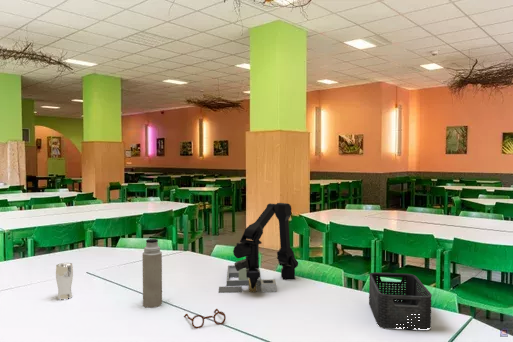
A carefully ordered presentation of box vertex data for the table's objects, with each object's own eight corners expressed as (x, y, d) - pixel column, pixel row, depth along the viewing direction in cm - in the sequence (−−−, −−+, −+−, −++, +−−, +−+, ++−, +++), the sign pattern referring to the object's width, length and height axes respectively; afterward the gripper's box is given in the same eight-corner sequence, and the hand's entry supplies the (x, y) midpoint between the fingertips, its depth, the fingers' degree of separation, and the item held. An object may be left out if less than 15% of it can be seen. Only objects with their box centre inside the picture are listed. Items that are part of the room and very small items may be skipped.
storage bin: (433, 332, 150) (434, 295, 150) (378, 329, 153) (379, 293, 152) (413, 304, 179) (414, 273, 178) (367, 302, 181) (367, 272, 181)
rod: (256, 289, 197) (256, 273, 197) (256, 292, 194) (256, 275, 194) (248, 289, 197) (248, 273, 197) (248, 292, 194) (248, 275, 193)
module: (248, 279, 214) (248, 265, 214) (248, 282, 209) (248, 267, 209) (238, 279, 214) (238, 265, 214) (238, 282, 209) (238, 267, 209)
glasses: (192, 330, 153) (192, 316, 152) (183, 317, 165) (183, 305, 164) (226, 324, 158) (225, 311, 158) (215, 312, 170) (215, 300, 170)
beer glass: (76, 296, 188) (76, 263, 187) (63, 301, 182) (63, 267, 181) (65, 294, 191) (65, 262, 190) (52, 299, 185) (52, 265, 184)
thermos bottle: (149, 300, 183) (149, 237, 182) (165, 302, 181) (165, 238, 180) (139, 306, 176) (138, 240, 175) (155, 308, 173) (154, 241, 172)
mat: (241, 286, 202) (241, 286, 202) (242, 292, 194) (242, 291, 194) (219, 287, 201) (219, 286, 201) (218, 292, 193) (218, 292, 193)
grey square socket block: (274, 287, 202) (274, 279, 201) (276, 291, 195) (276, 283, 194) (260, 287, 201) (260, 279, 201) (261, 292, 194) (261, 284, 194)
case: (258, 268, 235) (258, 264, 235) (261, 285, 204) (261, 280, 204) (227, 269, 234) (227, 264, 234) (226, 285, 204) (226, 280, 203)
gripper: (235, 250, 204) (235, 281, 205) (235, 259, 185) (235, 294, 186) (258, 249, 204) (258, 281, 205) (260, 259, 186) (260, 293, 186)
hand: (252, 287), depth 196 cm, fingers closed on rod, 4 cm apart
